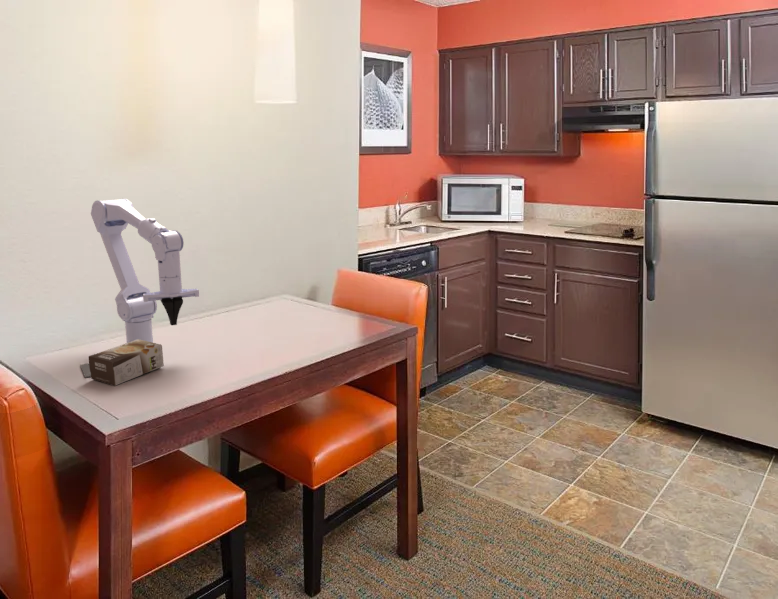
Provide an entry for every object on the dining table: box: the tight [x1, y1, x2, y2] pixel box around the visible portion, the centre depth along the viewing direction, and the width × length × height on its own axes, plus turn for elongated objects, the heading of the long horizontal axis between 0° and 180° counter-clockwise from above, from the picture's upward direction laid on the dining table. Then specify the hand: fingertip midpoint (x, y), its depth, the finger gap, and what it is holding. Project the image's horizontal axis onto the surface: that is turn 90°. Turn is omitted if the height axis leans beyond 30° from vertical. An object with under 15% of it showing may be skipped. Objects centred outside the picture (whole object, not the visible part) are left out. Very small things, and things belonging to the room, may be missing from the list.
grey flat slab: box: [80, 362, 91, 379], centre depth 183 cm, size 11×14×1 cm
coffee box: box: [88, 339, 165, 387], centre depth 177 cm, size 9×6×16 cm
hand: (173, 324), depth 188 cm, fingers closed
